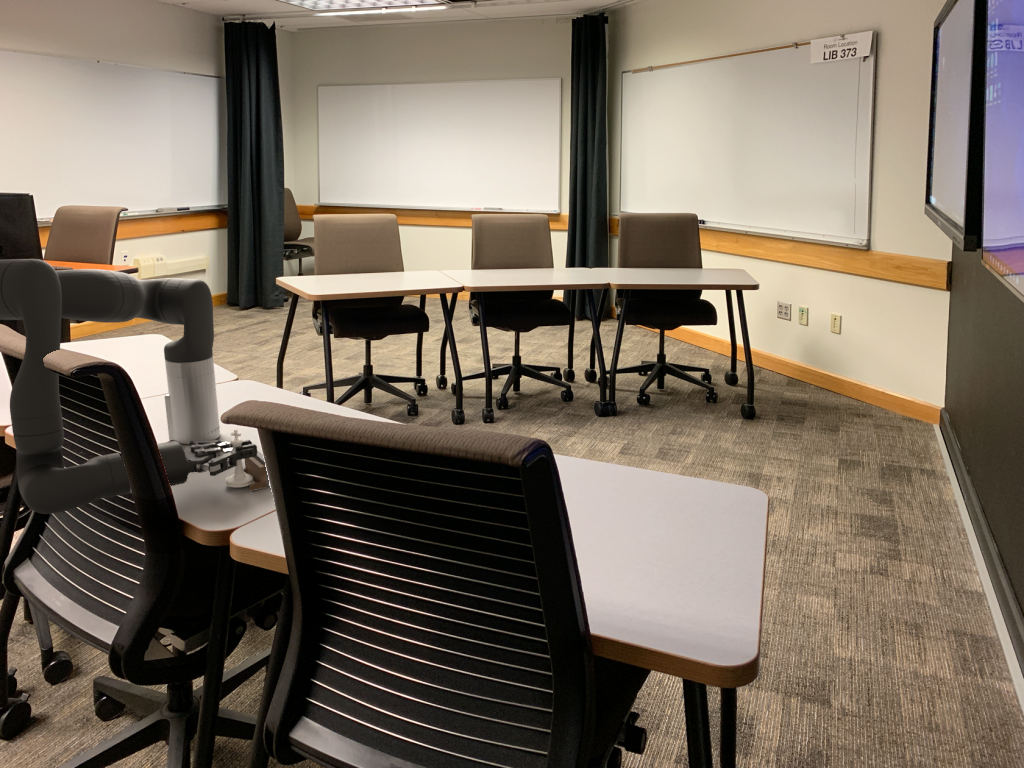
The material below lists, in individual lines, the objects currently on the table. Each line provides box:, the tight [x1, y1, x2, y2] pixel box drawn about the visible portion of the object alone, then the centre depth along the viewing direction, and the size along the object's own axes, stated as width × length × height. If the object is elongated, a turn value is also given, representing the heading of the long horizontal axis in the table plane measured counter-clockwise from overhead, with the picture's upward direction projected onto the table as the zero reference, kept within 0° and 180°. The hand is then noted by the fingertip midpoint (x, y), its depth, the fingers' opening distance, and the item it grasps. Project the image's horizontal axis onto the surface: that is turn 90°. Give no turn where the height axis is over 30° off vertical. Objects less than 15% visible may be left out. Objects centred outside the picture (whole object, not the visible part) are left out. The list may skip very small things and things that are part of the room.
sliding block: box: [243, 457, 268, 492], centre depth 159 cm, size 3×8×4 cm, turn 35°
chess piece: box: [224, 429, 255, 488], centre depth 157 cm, size 5×5×10 cm
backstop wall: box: [255, 449, 270, 489], centre depth 160 cm, size 1×7×5 cm, turn 36°
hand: (253, 447), depth 159 cm, fingers closed on chess piece
